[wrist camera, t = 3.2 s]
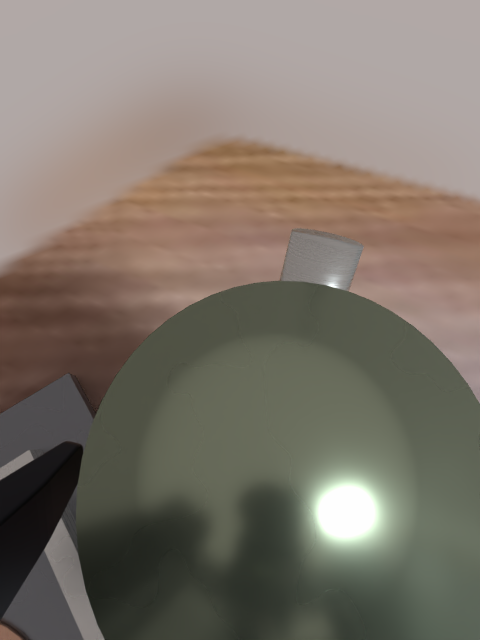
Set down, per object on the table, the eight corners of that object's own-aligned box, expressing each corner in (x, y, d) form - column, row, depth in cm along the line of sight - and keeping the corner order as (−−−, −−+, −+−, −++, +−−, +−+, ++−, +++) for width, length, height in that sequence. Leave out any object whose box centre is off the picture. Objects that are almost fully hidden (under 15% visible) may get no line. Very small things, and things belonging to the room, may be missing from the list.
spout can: (297, 539, 15) (539, 851, 4) (168, 508, 16) (-10, 704, 4) (320, 372, 18) (499, 233, 6) (209, 347, 18) (180, 168, 6)
